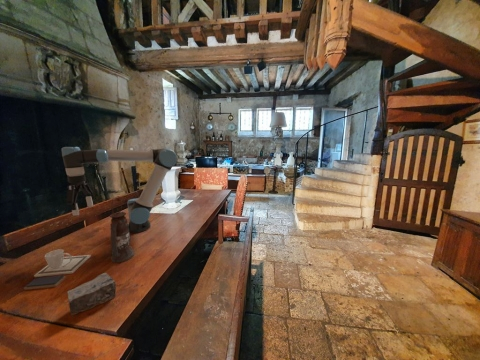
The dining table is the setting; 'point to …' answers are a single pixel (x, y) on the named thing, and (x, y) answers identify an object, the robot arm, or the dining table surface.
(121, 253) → the lantern
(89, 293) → the stone block
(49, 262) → the cup
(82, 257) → the board
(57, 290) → the dining table surface
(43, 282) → the ink pad
